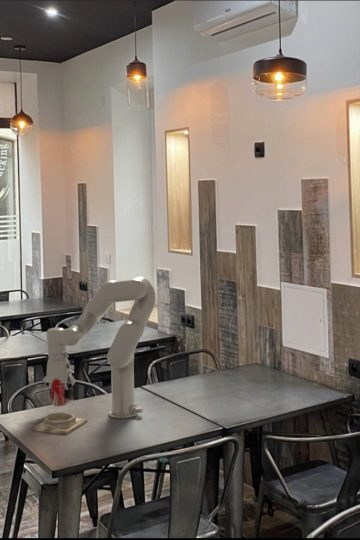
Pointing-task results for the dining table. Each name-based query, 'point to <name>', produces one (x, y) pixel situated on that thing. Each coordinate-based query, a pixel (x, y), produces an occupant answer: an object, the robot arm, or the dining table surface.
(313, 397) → the dining table surface
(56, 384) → the soda can
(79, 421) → the drink holder
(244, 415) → the dining table surface
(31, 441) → the dining table surface
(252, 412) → the dining table surface
